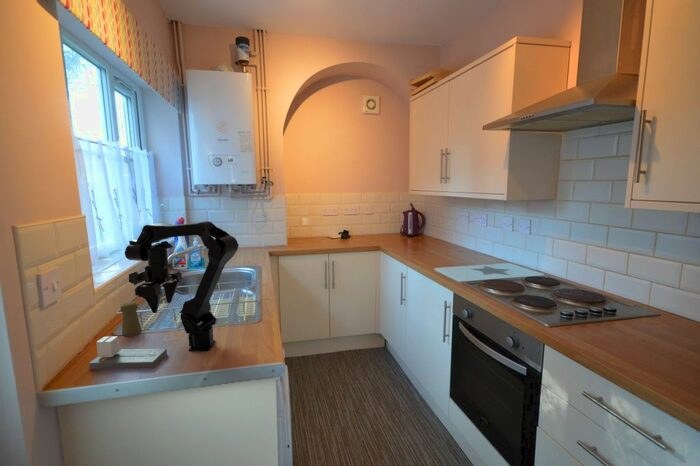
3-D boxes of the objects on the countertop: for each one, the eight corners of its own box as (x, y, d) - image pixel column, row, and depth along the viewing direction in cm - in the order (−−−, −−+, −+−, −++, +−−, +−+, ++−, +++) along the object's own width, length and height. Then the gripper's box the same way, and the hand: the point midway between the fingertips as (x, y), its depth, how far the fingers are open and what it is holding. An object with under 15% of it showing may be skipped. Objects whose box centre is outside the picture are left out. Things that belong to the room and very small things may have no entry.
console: (167, 354, 108) (166, 348, 108) (153, 368, 100) (152, 361, 100) (108, 355, 108) (107, 349, 108) (90, 369, 100) (89, 362, 100)
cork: (137, 327, 129) (134, 298, 127) (144, 331, 125) (141, 302, 123) (119, 332, 124) (115, 303, 123) (125, 337, 121) (122, 307, 119)
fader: (119, 351, 105) (117, 336, 105) (112, 357, 102) (110, 341, 101) (106, 351, 105) (104, 336, 105) (98, 357, 102) (96, 341, 101)
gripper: (149, 255, 122) (153, 298, 124) (114, 269, 104) (119, 319, 106) (181, 255, 122) (184, 298, 125) (152, 268, 104) (156, 318, 106)
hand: (162, 307), depth 115 cm, fingers open, 9 cm apart
